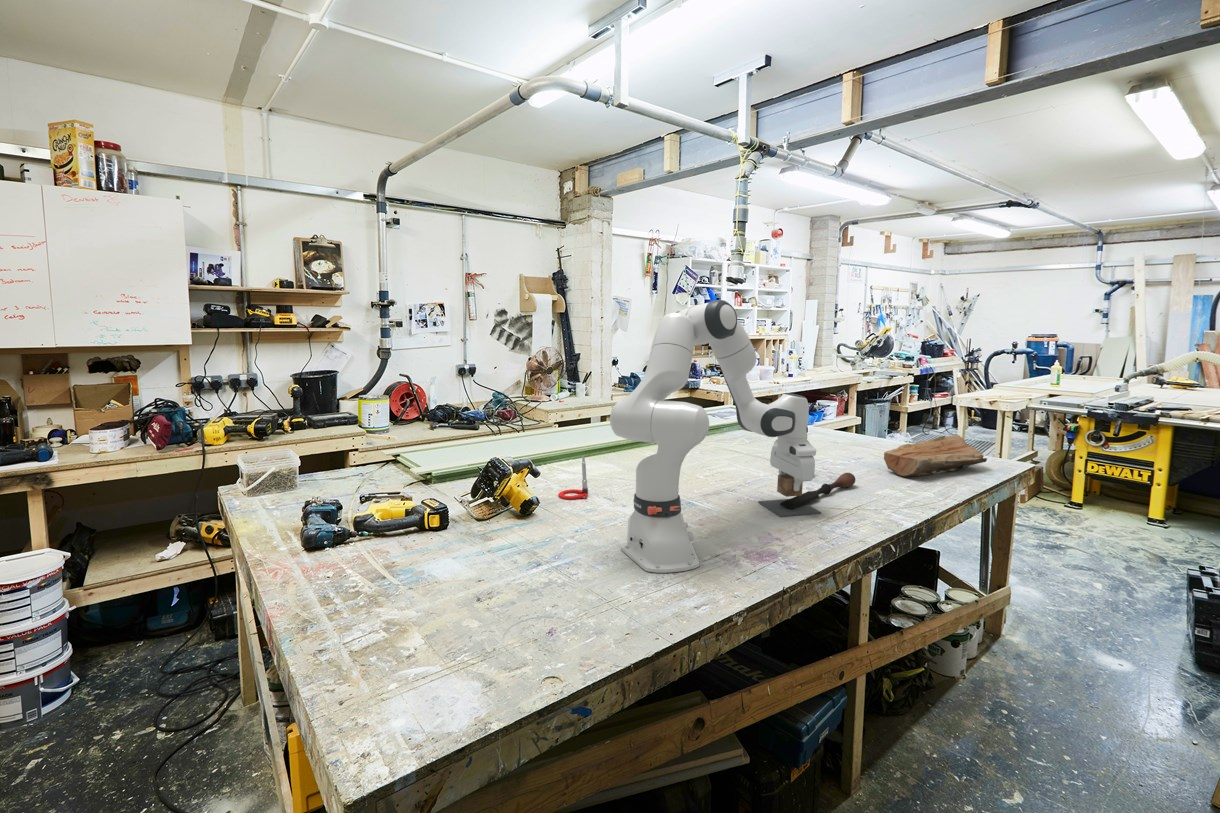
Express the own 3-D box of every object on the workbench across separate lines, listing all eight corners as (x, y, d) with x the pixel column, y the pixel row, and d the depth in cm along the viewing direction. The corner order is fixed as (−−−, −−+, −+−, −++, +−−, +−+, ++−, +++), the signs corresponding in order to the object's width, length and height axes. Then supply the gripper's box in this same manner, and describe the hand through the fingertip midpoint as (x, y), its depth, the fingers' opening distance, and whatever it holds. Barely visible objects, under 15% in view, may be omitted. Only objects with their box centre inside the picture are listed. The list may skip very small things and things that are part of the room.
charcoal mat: (821, 513, 175) (821, 512, 175) (780, 517, 172) (780, 515, 172) (796, 499, 189) (796, 498, 189) (758, 502, 185) (758, 501, 185)
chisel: (857, 486, 204) (859, 473, 203) (792, 515, 177) (794, 500, 175) (844, 482, 208) (846, 469, 207) (778, 509, 180) (780, 495, 179)
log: (956, 460, 240) (953, 426, 238) (997, 467, 224) (994, 431, 222) (882, 486, 226) (878, 450, 224) (920, 495, 210) (916, 457, 208)
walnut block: (801, 495, 178) (802, 478, 177) (786, 496, 177) (787, 479, 176) (792, 490, 183) (793, 473, 182) (777, 491, 182) (777, 474, 181)
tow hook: (556, 501, 187) (586, 500, 187) (554, 460, 185) (584, 459, 185) (560, 493, 196) (589, 492, 196) (558, 454, 194) (587, 453, 194)
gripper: (766, 438, 187) (764, 478, 189) (800, 452, 167) (798, 497, 169) (783, 437, 188) (781, 477, 190) (819, 451, 168) (816, 496, 170)
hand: (789, 487), depth 179 cm, fingers closed on walnut block, 5 cm apart
